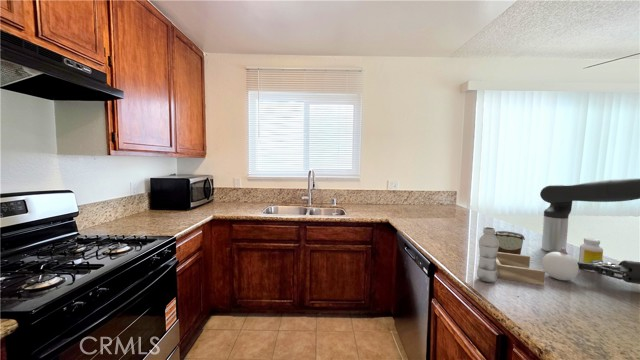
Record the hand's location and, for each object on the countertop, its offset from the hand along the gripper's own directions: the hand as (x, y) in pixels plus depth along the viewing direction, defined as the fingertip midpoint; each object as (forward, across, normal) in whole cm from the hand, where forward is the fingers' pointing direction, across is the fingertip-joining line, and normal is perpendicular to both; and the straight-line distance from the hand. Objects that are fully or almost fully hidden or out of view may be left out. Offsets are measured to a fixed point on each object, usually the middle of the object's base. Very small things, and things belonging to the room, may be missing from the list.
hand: (577, 265), depth 97 cm
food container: (+16, -27, +6) cm, 32 cm away
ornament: (+5, 0, +6) cm, 8 cm away
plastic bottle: (+31, +13, +6) cm, 34 cm away
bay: (+19, 0, +6) cm, 20 cm away
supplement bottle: (-10, -16, +6) cm, 20 cm away
